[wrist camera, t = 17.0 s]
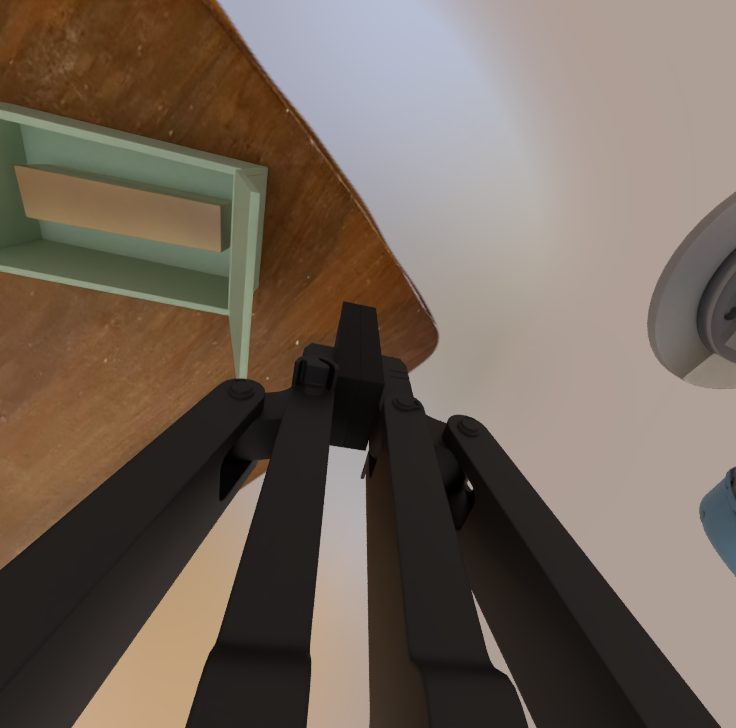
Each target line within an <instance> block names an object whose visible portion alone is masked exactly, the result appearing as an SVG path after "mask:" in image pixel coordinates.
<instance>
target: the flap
mask: <svg viewBox="0 0 736 728" xmlns="http://www.w3.org/2000/svg"><path fill="white" fill-rule="evenodd" d="M259 206H260V193H259V191H258V190H257V189H256V188H255V186H254V185H253V184H252V183H251V181H250V180H249V179H248V178H247V176H246V175H245V174H244V172H243V171H242V170H238V169H235V187H234V211H233V235H232V259H231V283H230V306H229V324H230V332H231V340H232V348H233V355H234V363H235V371H236V379H238V378H240V379H241V378H244V379H247V369H248V355H249V342H250V328H251V315H252V301H253V288H254V274H255V261H256V247H257V234H258V220H259Z"/></svg>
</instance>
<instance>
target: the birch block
mask: <svg viewBox="0 0 736 728" xmlns="http://www.w3.org/2000/svg"><path fill="white" fill-rule="evenodd" d="M14 169H15V173H16V177H17V181H18V185H19V189H20V193H21V197H22V201H23V206H24V210H25V214H26V217H28V218H33V219H38V220H44V221H49V222H55V223H60V224H66V225H71V226H76V227H82V228H87V229H93V230H98V231H103V232H109V233H114V234H120V235H125V236H131V237H136V238H141V239H147V240H152V241H158V242H163V243H169V244H174V245H179V246H185V247H190V248H196V249H201V250H207V251H212V252H217V253H222V252H223V251H225V250H226V249H228V248H229V247H230V243H231V218H232V201H231V200H226V199H221V198H216V197H211V196H206V195H201V194H196V193H191V192H186V191H181V190H176V189H171V188H167V187H162V186H157V185H152V184H147V183H142V182H137V181H132V180H127V179H122V178H117V177H112V176H107V175H102V174H97V173H92V172H87V171H82V170H77V169H72V168H67V167H62V166H57V165H52V164H15V165H14Z"/></svg>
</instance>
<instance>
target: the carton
mask: <svg viewBox="0 0 736 728" xmlns="http://www.w3.org/2000/svg"><path fill="white" fill-rule="evenodd" d="M15 164H52V165H57V166H62V167H67V168H72V169H77V170H82V171H87V172H92V173H97V174H102V175H107V176H112V177H117V178H122V179H127V180H132V181H137V182H142V183H147V184H152V185H157V186H162V187H167V188H171V189H176V190H181V191H186V192H191V193H196V194H201V195H206V196H211V197H216V198H221V199H226V200H231V201H232V218H231V243H230V247H229V248H228V249H226V250H225V251H223V252H222V253H217V252H212V251H207V250H201V249H196V248H190V247H185V246H179V245H174V244H169V243H163V242H158V241H152V240H147V239H141V238H136V237H131V236H125V235H120V234H114V233H109V232H103V231H98V230H93V229H87V228H82V227H76V226H71V225H66V224H60V223H55V222H49V221H44V220H38V219H33V218H28V217H26V214H25V210H24V206H23V201H22V197H21V193H20V189H19V185H18V181H17V177H16V173H15V169H14V165H15ZM235 169H238V170H242V171H243V172H244V174H245V175H246V176H247V178H248V179H249V180H250V181H251V183H252V184H253V185H254V186H255V188H256V189H257V190H258V191H259V193H260V206H259V220H258V234H257V247H256V261H255V274H254V288H253V293H254V292H255V290H256V289H257V288H258V287H259V275H260V262H261V250H262V238H263V225H264V213H265V200H266V188H267V176H268V167H265V166H261V165H257V164H253V163H249V162H245V161H241V160H237V159H233V158H229V157H225V156H221V155H217V154H213V153H209V152H205V151H201V150H196V149H192V148H188V147H184V146H180V145H176V144H172V143H168V142H164V141H160V140H156V139H152V138H148V137H144V136H140V135H136V134H132V133H128V132H124V131H120V130H116V129H112V128H108V127H104V126H100V125H96V124H92V123H88V122H84V121H79V120H75V119H71V118H67V117H63V116H59V115H55V114H51V113H47V112H43V111H39V110H35V109H31V108H27V107H23V106H19V105H15V104H9V103H4V102H0V271H2V272H7V273H12V274H17V275H22V276H27V277H32V278H38V279H43V280H48V281H53V282H58V283H63V284H68V285H74V286H79V287H84V288H89V289H94V290H99V291H104V292H110V293H115V294H120V295H125V296H130V297H135V298H140V299H146V300H151V301H156V302H161V303H166V304H171V305H177V306H182V307H187V308H192V309H197V310H202V311H207V312H213V313H218V314H223V315H228V316H229V306H230V283H231V259H232V235H233V211H234V187H235Z"/></svg>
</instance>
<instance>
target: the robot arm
mask: <svg viewBox="0 0 736 728" xmlns="http://www.w3.org/2000/svg"><path fill="white" fill-rule="evenodd" d="M696 321H697V330H698V334H699V337H700V339H701V341H702V342H703V344H704V345H705V346H706V347H707V348H708V349H709V350H710V351H712V352H713V353H715V354H717V355H719V356H721V357H723V358H724V359H726V360H728V361H730V362H732V363H735V364H736V248H735V249H734V250H733V251H732V252H731V253H730V254H729V255H728V256H727V258H726V259H725V260H724V261H723V262H722V263H721V265H720V266H719V267H718V268H717V270H716V271H715V273H714V274H713V275H712V277H711V279H710V280H709V282H708V284H707V286H706V288H705V290H704V292H703V294H702V296H701V299H700V302H699V306H698V310H697V319H696ZM368 440H369V451H368V455H367V458H366V461H365V465H364V468H363V472H362V475H361V478H362V479H364V477H365V474H366V516H367V517H366V518H367V571H368V572H367V573H368V631H369V632H368V633H369V688H370V690H369V691H370V725H369V728H528V724H527V721H526V718H525V714H524V711H523V708H522V705H521V702H520V700H519V697H518V694H517V692H516V689H515V687H514V685H513V684H512V682H511V681H510V679H509V678H508V676H507V675H506V674H504V673H502V672H501V671H499V670H498V669H496V668H495V667H494V666H493V664H492V663H491V661H490V658H489V656H488V653H487V649H486V646H485V642H484V638H483V634H482V630H481V626H480V622H479V618H478V615H477V611H476V607H475V604H474V599H473V595H472V592H473V594H474V595H475V598H476V600H477V602H478V604H479V606H480V609H481V611H482V613H483V615H484V617H485V619H486V621H487V623H488V626H489V628H490V630H491V632H492V634H493V636H494V638H495V640H496V643H497V645H498V647H499V649H500V651H501V653H502V655H503V658H504V659H505V662H506V664H507V666H508V668H509V670H510V672H511V674H512V676H513V679H514V681H515V683H516V685H517V687H518V689H519V691H520V693H521V696H522V698H523V700H524V702H525V704H526V706H527V708H528V710H529V712H530V714H531V717H532V719H533V721H534V723H535V725H536V727H537V728H721V727H720V725H719V724H718V723H717V722H716V720H715V719H714V718H713V717H712V715H711V714H710V713H709V712H708V711H707V709H706V708H705V707H704V705H703V704H702V703H701V701H700V700H699V699H698V698H697V696H696V695H695V694H694V692H693V691H692V690H691V689H690V687H689V686H688V685H687V683H686V682H685V681H684V680H683V679H682V677H681V676H680V674H679V673H678V672H677V671H676V670H675V668H674V667H673V666H672V664H671V663H670V662H669V661H668V659H667V658H666V657H665V655H664V654H663V653H662V652H661V650H660V649H659V648H658V646H657V645H656V644H655V643H654V641H653V640H652V639H651V638H650V636H649V635H648V634H647V632H646V631H645V630H644V629H643V627H642V626H641V625H640V624H639V622H638V621H637V620H636V618H635V617H634V616H633V615H632V613H631V612H630V611H629V610H628V608H627V607H626V606H625V604H624V603H623V602H622V600H621V599H620V598H619V597H618V595H617V594H616V593H615V592H614V590H613V589H612V588H611V587H610V585H609V584H608V583H607V581H606V580H605V579H604V578H603V576H602V575H601V574H600V573H599V571H598V570H597V569H596V567H595V566H594V565H593V564H592V562H591V561H590V560H589V559H588V557H587V556H586V555H585V553H584V552H583V551H582V549H581V548H580V547H579V546H578V544H577V543H576V542H575V541H574V539H573V538H572V537H571V535H570V534H569V533H568V532H567V530H566V529H565V528H564V527H563V525H562V524H561V523H560V521H559V520H558V519H557V518H556V516H555V515H554V514H553V512H552V511H551V510H550V509H549V507H548V506H547V505H546V504H545V502H544V501H543V500H542V499H541V497H540V496H539V495H538V493H537V492H536V491H535V490H534V488H533V487H532V486H531V485H530V483H529V482H528V481H527V480H526V478H525V477H524V475H523V474H522V473H521V472H520V470H519V469H518V468H517V467H516V465H515V464H514V463H513V461H512V460H511V459H510V458H509V456H508V455H507V454H506V453H505V451H504V450H503V449H502V447H501V446H500V445H499V444H498V443H497V441H496V440H495V439H494V437H493V436H492V435H491V433H490V432H489V431H488V430H487V428H486V427H485V426H484V425H483V424H482V423H480V422H479V421H477V420H475V419H474V418H472V417H468V416H464V415H454V416H451V417H450V418H449V419H448V421H447V423H444V422H441V421H439V420H436V419H434V418H431V417H429V416H428V415H426V414H425V411H424V407H423V405H422V404H421V403H420V401H418V400H417V399H416V398H414V397H413V393H412V389H411V384H410V381H409V376H408V371H407V367H406V365H405V364H404V363H403V362H402V361H401V360H400V359H399V358H393V357H388V356H383V355H381V347H380V339H379V330H378V322H377V313H376V308H373V307H368V306H363V305H358V304H354V303H349V302H344V301H343V306H342V311H341V316H340V321H339V326H338V331H337V336H336V341H335V346H334V347H330V346H325V345H320V344H314V343H311V344H310V345H308V346H307V347H305V349H304V352H303V356H302V357H300V358H298V359H297V360H296V361H295V366H294V373H293V380H292V386H291V387H290V388H289V389H287V390H284V391H280V392H270V393H265V389H264V387H263V386H262V385H261V384H260V383H258V382H255V381H253V380H249V379H244V378H241V379H240V378H238V379H231V380H227V381H225V382H223V383H221V384H219V385H218V386H217V387H216V388H215V389H214V390H212V391H211V392H210V393H209V394H208V395H207V396H205V397H204V398H203V399H202V400H201V401H199V402H198V403H197V404H196V405H195V406H194V407H192V408H191V409H190V410H189V411H188V412H186V413H185V414H184V415H183V416H182V417H181V418H179V419H178V420H177V421H176V422H175V423H173V424H172V425H171V426H170V427H169V428H168V429H166V430H165V431H164V432H163V433H162V434H160V435H159V436H158V437H157V438H156V439H155V440H153V441H152V442H151V443H150V444H149V445H148V446H146V447H145V448H144V449H143V450H142V451H140V452H139V453H138V454H137V455H136V456H135V457H133V458H132V459H131V460H130V461H129V462H127V463H126V464H125V465H124V466H123V467H122V468H120V469H119V470H118V471H117V472H116V473H114V474H113V475H112V476H111V477H110V478H109V479H107V480H106V481H105V482H104V483H103V484H101V485H100V486H99V487H98V488H97V489H96V490H94V491H93V492H92V493H91V494H90V495H89V496H87V497H86V498H85V499H84V500H83V501H81V502H80V503H79V504H78V505H77V506H76V507H74V508H73V509H72V510H71V511H70V512H68V513H67V514H66V515H65V516H64V517H63V518H61V519H60V520H59V521H58V522H57V523H55V524H54V525H53V526H52V527H51V528H50V529H48V530H47V531H46V532H45V533H44V534H42V535H41V536H40V537H39V538H38V539H37V540H35V541H34V542H33V543H32V544H31V545H30V546H28V547H27V548H26V549H25V550H24V551H22V552H21V553H20V554H19V555H18V556H17V557H15V558H14V559H13V560H12V561H11V562H9V563H8V564H7V565H6V566H5V567H4V568H2V569H1V570H0V728H71V727H72V726H73V725H74V723H75V722H76V720H77V719H78V717H79V716H80V715H81V713H82V712H83V711H84V709H85V708H86V706H87V705H88V703H89V702H90V700H91V699H92V698H93V696H94V695H95V693H96V692H97V691H98V689H99V688H100V686H101V685H102V683H103V682H104V681H105V679H106V678H107V676H108V675H109V674H110V672H111V671H112V669H113V668H114V666H115V665H116V664H117V662H118V661H119V659H120V658H121V657H122V655H123V654H124V652H125V651H126V650H127V648H128V647H129V645H130V644H131V642H132V641H133V639H134V638H135V637H136V635H137V633H138V632H139V631H140V630H141V628H142V627H143V625H144V624H145V623H146V621H147V620H148V618H149V617H150V615H151V614H152V613H153V611H154V610H155V608H156V607H157V606H158V604H159V603H160V601H161V600H162V598H163V597H164V596H165V594H166V593H167V591H168V590H169V589H170V587H171V586H172V584H173V583H174V581H175V580H176V578H177V577H178V576H179V574H180V573H181V571H182V570H183V569H184V567H185V566H186V564H187V563H188V562H189V560H190V559H191V557H192V556H193V554H194V553H195V552H196V550H197V549H198V547H199V546H200V544H201V543H202V542H203V540H204V539H205V537H206V536H207V535H208V533H209V532H210V530H211V529H212V528H213V526H214V525H215V523H216V522H217V520H218V519H219V518H220V516H221V515H222V513H223V512H224V510H225V509H226V508H227V506H228V505H229V503H230V502H231V501H232V499H233V498H234V496H235V495H236V493H237V492H238V491H239V489H240V488H241V486H242V485H243V484H244V482H245V481H246V479H247V478H248V476H249V475H250V474H251V472H252V471H253V469H254V468H255V467H256V465H257V462H258V460H262V459H270V461H269V465H268V468H267V471H266V475H265V479H264V482H263V485H262V489H261V492H260V495H259V499H258V502H257V506H256V509H255V513H254V516H253V519H252V523H251V526H250V529H249V533H248V536H247V540H246V543H245V547H244V550H243V554H242V557H241V560H240V563H239V567H238V570H237V574H236V577H235V581H234V584H233V587H232V591H231V594H230V598H229V601H228V604H227V608H226V611H225V615H224V618H223V621H222V625H221V628H220V632H219V635H218V638H217V641H216V643H215V646H214V647H213V649H212V650H211V651H210V653H209V656H208V658H207V661H206V663H205V666H204V669H203V672H202V675H201V678H200V681H199V684H198V687H197V691H196V694H195V697H194V701H193V704H192V707H191V710H190V714H189V717H188V720H187V724H186V727H185V728H306V726H307V716H308V704H309V692H310V679H311V657H310V639H311V627H312V618H313V607H314V598H315V588H316V576H317V567H318V557H319V547H320V536H321V526H322V516H323V505H324V495H325V484H326V475H327V465H328V464H327V463H328V453H329V445H332V446H338V447H343V446H344V447H345V448H351V449H357V450H364V451H365V450H366V447H367V444H368ZM468 480H469V481H470V483H471V485H472V486H473V490H471V489H470V488H469V486H468V485H467V482H468ZM699 513H700V519H701V522H702V524H703V527H704V531H705V533H706V535H707V536H708V539H709V540H710V542H711V544H712V545H713V547H714V548H715V550H716V551H717V553H718V554H719V556H720V557H721V558H722V560H723V561H724V563H725V564H726V565H727V566H728V568H729V569H730V570H731V571H732V573H733V574H734V575H735V576H736V467H734V468H732V469H730V470H729V471H728V472H727V474H726V477H725V478H724V479H723V480H722V481H721V482H720V483H719V484H717V485H716V486H715V487H714V488H713V489H712V490H711V491H710V492H709V493H708V494H706V496H705V497H704V498H703V499H702V501H701V503H700V507H699ZM471 590H472V592H471Z"/></svg>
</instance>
